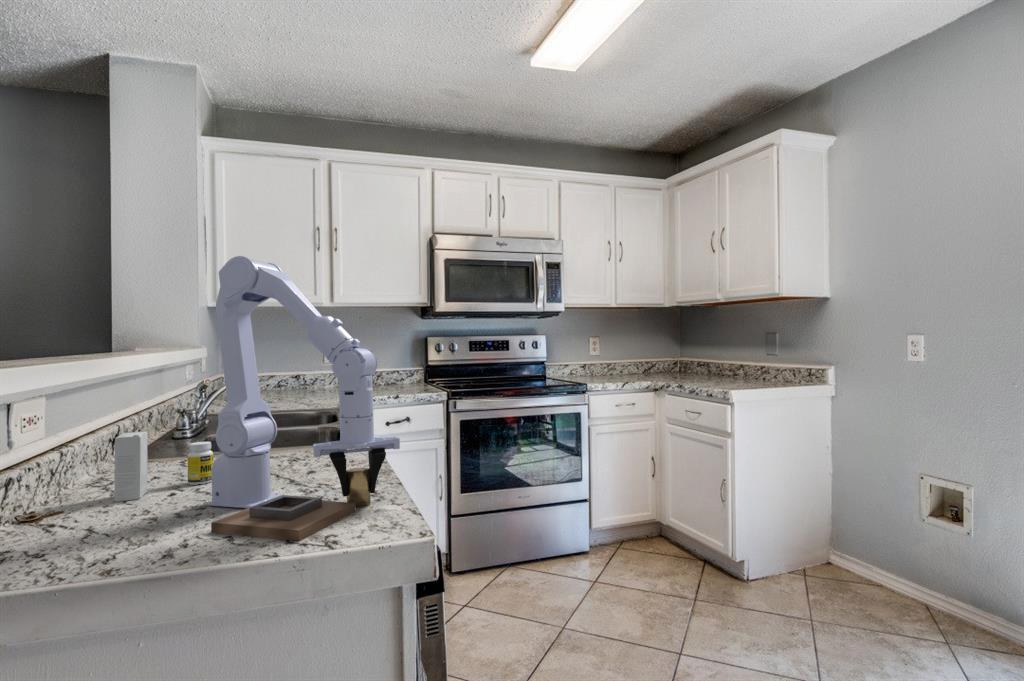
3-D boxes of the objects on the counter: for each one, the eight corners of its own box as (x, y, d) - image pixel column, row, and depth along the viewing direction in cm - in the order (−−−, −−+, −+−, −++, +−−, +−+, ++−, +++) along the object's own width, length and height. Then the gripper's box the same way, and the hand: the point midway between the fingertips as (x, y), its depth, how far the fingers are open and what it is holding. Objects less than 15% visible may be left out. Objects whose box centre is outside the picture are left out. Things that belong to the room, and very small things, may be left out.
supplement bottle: (201, 485, 113) (201, 445, 113) (182, 485, 114) (181, 444, 114) (218, 480, 118) (218, 441, 118) (199, 479, 118) (199, 440, 119)
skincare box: (122, 494, 107) (121, 432, 108) (149, 491, 109) (148, 431, 109) (113, 502, 102) (112, 437, 102) (142, 499, 103) (140, 435, 104)
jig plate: (211, 532, 83) (211, 522, 83) (276, 505, 96) (276, 497, 96) (299, 540, 78) (299, 530, 78) (355, 511, 92) (355, 502, 92)
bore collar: (249, 517, 85) (249, 508, 85) (283, 504, 92) (283, 495, 92) (290, 521, 83) (290, 511, 83) (322, 506, 90) (321, 497, 90)
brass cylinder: (342, 507, 95) (341, 472, 95) (355, 500, 99) (354, 467, 99) (362, 508, 94) (361, 473, 94) (374, 502, 97) (374, 468, 97)
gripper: (313, 421, 90) (315, 504, 90) (402, 415, 95) (404, 493, 95) (312, 417, 96) (313, 494, 96) (394, 411, 102) (396, 484, 102)
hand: (358, 493), depth 96 cm, fingers closed on brass cylinder, 4 cm apart
